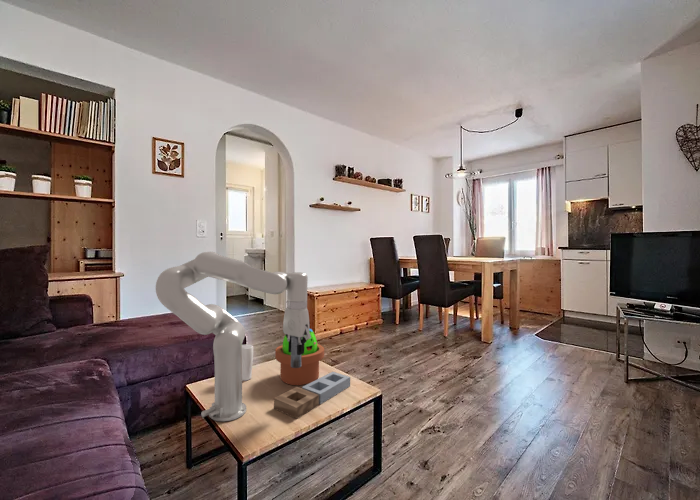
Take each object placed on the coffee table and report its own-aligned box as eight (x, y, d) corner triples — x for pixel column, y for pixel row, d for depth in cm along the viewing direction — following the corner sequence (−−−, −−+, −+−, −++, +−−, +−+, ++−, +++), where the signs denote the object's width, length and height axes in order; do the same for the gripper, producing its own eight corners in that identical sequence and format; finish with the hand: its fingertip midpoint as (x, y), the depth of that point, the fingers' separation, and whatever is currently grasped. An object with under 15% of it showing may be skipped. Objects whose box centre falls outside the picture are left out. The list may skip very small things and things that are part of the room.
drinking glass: (234, 378, 147) (235, 346, 147) (248, 374, 152) (248, 343, 152) (242, 383, 142) (242, 349, 142) (255, 378, 147) (256, 346, 147)
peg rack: (320, 404, 125) (320, 394, 124) (301, 396, 130) (301, 387, 130) (350, 386, 141) (350, 377, 141) (332, 380, 147) (332, 371, 147)
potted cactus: (267, 376, 150) (267, 323, 149) (305, 365, 165) (306, 316, 164) (292, 393, 134) (292, 333, 133) (332, 378, 148) (333, 325, 148)
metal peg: (296, 369, 119) (296, 331, 119) (288, 366, 122) (289, 329, 121) (303, 365, 122) (304, 329, 122) (296, 363, 125) (296, 327, 125)
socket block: (296, 418, 114) (296, 407, 114) (273, 408, 121) (273, 398, 121) (318, 405, 124) (318, 395, 124) (296, 396, 131) (296, 386, 131)
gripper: (274, 303, 123) (273, 350, 124) (306, 309, 114) (305, 360, 114) (289, 301, 130) (288, 346, 130) (320, 306, 120) (319, 354, 120)
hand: (296, 352), depth 122 cm, fingers closed on metal peg, 4 cm apart
